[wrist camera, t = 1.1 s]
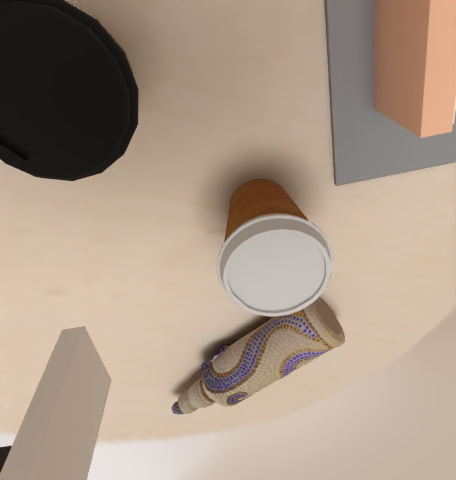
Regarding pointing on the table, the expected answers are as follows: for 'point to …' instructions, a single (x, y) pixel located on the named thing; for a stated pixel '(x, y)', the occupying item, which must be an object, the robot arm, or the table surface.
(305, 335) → the decorative bottle
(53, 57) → the coffee cup
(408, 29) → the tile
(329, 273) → the disposable coffee cup
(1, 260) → the table surface
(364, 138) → the mat
